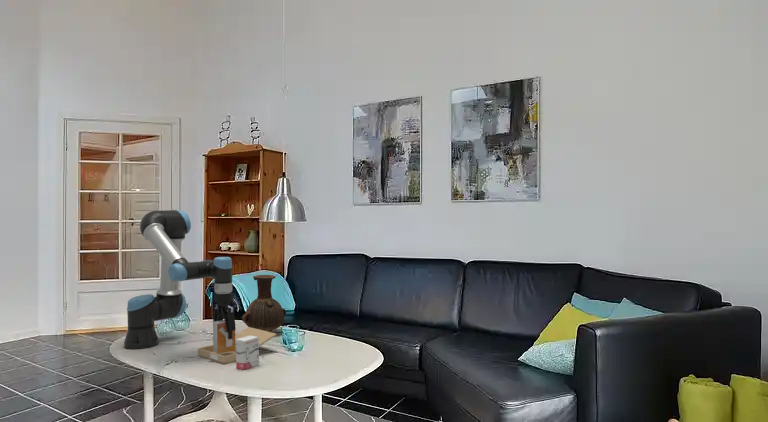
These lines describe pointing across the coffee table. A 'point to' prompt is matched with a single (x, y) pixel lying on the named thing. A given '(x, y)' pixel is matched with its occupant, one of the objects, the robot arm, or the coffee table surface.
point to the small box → (221, 337)
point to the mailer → (217, 355)
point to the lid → (262, 335)
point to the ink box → (247, 352)
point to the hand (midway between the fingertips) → (224, 344)
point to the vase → (264, 307)
